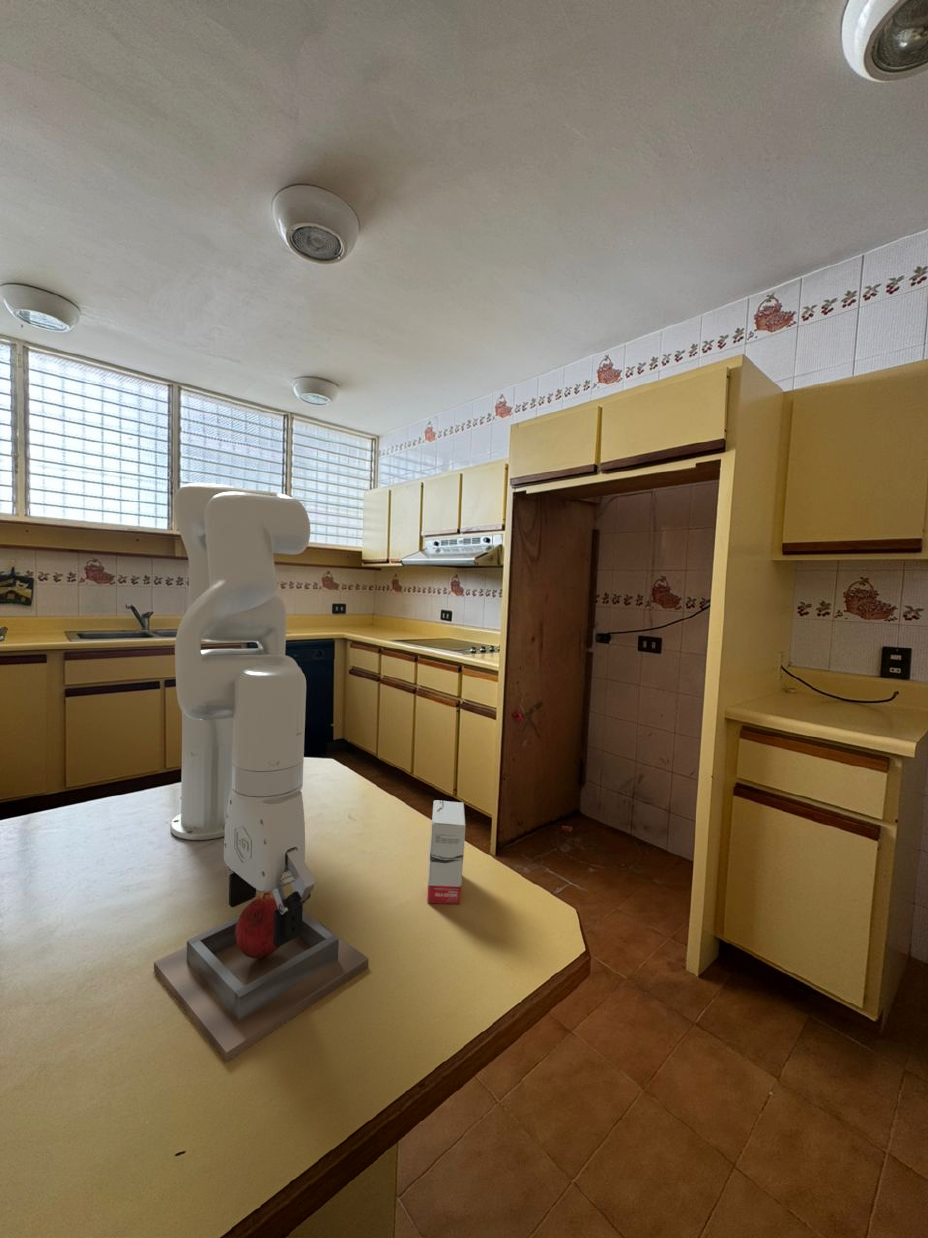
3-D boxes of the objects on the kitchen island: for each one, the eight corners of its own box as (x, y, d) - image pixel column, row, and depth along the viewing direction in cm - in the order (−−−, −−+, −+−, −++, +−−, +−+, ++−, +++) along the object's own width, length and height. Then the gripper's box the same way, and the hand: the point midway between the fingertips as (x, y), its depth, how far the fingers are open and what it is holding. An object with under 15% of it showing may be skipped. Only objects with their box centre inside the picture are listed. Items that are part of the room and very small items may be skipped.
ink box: (461, 905, 75) (466, 824, 75) (426, 904, 75) (430, 823, 74) (460, 872, 84) (464, 799, 83) (428, 871, 84) (432, 798, 83)
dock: (153, 970, 60) (154, 941, 60) (287, 905, 73) (288, 880, 73) (226, 1062, 49) (227, 1027, 49) (368, 967, 62) (369, 938, 62)
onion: (270, 981, 58) (272, 911, 58) (223, 971, 59) (225, 902, 59) (297, 946, 64) (299, 882, 63) (254, 937, 65) (256, 874, 64)
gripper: (199, 763, 62) (196, 902, 64) (280, 810, 51) (274, 977, 53) (259, 749, 68) (255, 877, 69) (343, 789, 57) (336, 940, 58)
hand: (263, 920), depth 61 cm, fingers open, 9 cm apart
